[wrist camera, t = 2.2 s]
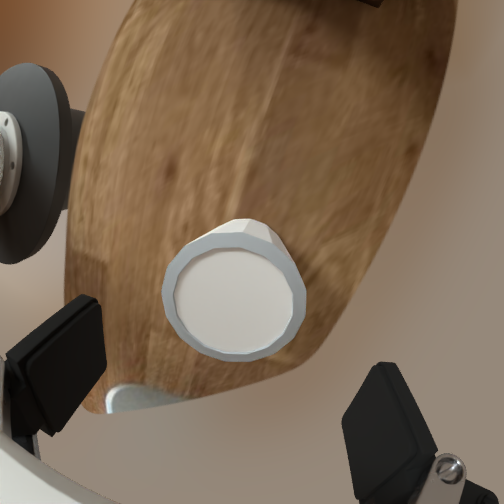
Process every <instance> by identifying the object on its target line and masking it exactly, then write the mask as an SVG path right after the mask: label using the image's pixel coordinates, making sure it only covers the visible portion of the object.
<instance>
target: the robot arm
mask: <svg viewBox="0 0 504 504" xmlns="http://www.w3.org/2000/svg"><path fill="white" fill-rule="evenodd" d="M22 158H23V146H22V136H21V130H20V127H19V123H18V122H17V120H16V118H15V117H14V115H13V114H11V113H9V112H4V111H0V216H1V215H2V214H4V213H5V212H6V211H7V210H8V209H9V208H10V206H11V204H12V203H13V200H14V198H15V195H16V193H17V189H18V186H19V181H20V176H21V170H22ZM6 357H7V360H6V361H4V360H3V358H2V357H1V356H0V504H120V503H117V502H115V501H113V500H111V499H108V498H106V497H104V496H102V495H100V494H98V493H95V492H93V491H92V490H89V489H87V488H86V487H83V486H82V485H80V484H78V483H76V482H75V481H73V480H71V479H69V478H68V477H66V476H64V475H62V474H61V473H59V472H58V471H56V470H54V469H53V468H51V467H50V466H48V465H46V464H45V463H44V462H42V461H41V458H40V452H39V446H38V440H37V432H38V431H39V429H41V430H42V431H43V432H45V433H47V434H48V435H50V436H51V437H53V435H54V434H55V433H56V432H60V431H61V430H62V429H63V428H64V426H65V425H66V423H67V422H68V420H69V419H70V418H71V416H72V415H73V413H74V412H75V411H76V409H77V408H78V407H79V405H80V404H81V402H82V401H83V400H84V398H85V397H86V396H87V394H88V393H89V392H90V390H91V389H92V388H93V386H94V385H95V384H96V382H97V381H98V380H99V378H100V377H101V376H102V374H103V373H104V372H105V370H106V367H107V360H106V352H105V344H104V334H103V323H102V309H101V305H100V304H98V301H97V299H96V298H93V297H90V296H87V295H85V294H81V295H79V296H78V297H76V298H75V299H74V300H72V301H71V302H70V303H68V304H67V305H66V306H64V307H63V308H62V309H60V310H59V311H58V312H56V313H55V314H54V315H53V316H51V317H50V318H49V319H47V320H46V321H45V322H44V323H42V324H41V325H40V326H39V327H37V328H36V329H35V330H33V331H32V332H31V333H30V334H29V335H27V336H26V337H25V338H24V339H22V340H21V341H20V342H19V343H18V344H16V345H15V346H14V347H13V348H12V349H10V350H9V351H8V352H7V353H6ZM342 429H343V433H344V439H345V444H346V449H347V454H348V460H349V465H350V471H351V476H352V483H353V489H354V495H355V498H356V499H357V500H359V504H499V502H498V498H497V497H496V495H495V494H494V493H493V492H491V491H490V490H487V489H485V488H483V487H481V486H479V485H477V484H475V483H473V482H471V481H469V480H467V479H466V467H465V465H464V463H463V462H462V460H461V459H460V458H458V457H457V456H455V455H453V454H449V453H444V454H441V455H439V456H438V457H437V458H436V457H435V453H436V452H437V451H438V448H437V446H436V444H435V442H434V440H433V438H432V435H431V433H430V431H429V429H428V426H427V424H426V422H425V420H424V418H423V416H422V414H421V412H420V409H419V407H418V406H417V403H416V402H415V399H414V397H413V395H412V393H411V392H410V390H409V388H408V386H407V384H406V382H405V380H404V378H403V376H402V374H401V372H400V371H399V368H398V367H397V365H396V364H395V363H392V362H379V363H377V365H374V366H373V367H372V368H371V370H370V372H369V373H368V375H367V377H366V379H365V381H364V382H363V384H362V386H361V387H360V389H359V391H358V393H357V394H356V396H355V398H354V399H353V401H352V402H351V404H350V406H349V407H348V409H347V410H346V412H345V413H344V415H343V418H342Z"/></svg>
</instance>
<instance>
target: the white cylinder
mask: <svg viewBox="0 0 504 504" xmlns="http://www.w3.org/2000/svg"><path fill="white" fill-rule="evenodd" d="M161 292H162V298H163V303H164V309H165V314H166V317H167V318H168V320H169V322H170V323H171V325H172V326H173V328H174V329H175V331H176V332H177V334H178V336H179V337H180V338H181V339H183V340H184V341H185V342H186V343H188V344H189V345H190V346H192V347H193V348H194V349H196V350H197V351H198V352H200V353H202V354H205V355H207V356H210V357H213V358H216V359H219V360H222V361H230V362H251V361H254V360H257V359H261V358H264V357H267V356H270V355H273V354H275V353H276V352H277V351H279V350H280V349H281V348H282V347H284V346H285V345H286V344H287V343H289V342H290V341H291V340H292V339H293V338H294V337H295V335H296V333H297V331H298V329H299V327H300V326H301V324H302V322H303V320H304V318H305V314H306V288H305V285H304V283H303V281H302V278H301V276H300V274H299V271H298V269H297V267H296V265H295V263H294V261H293V259H292V258H291V256H290V254H289V253H288V251H287V249H286V248H285V246H284V244H283V243H282V241H281V239H280V238H279V236H278V235H277V234H276V233H275V232H274V231H273V230H272V229H271V228H270V227H268V226H267V225H266V224H264V223H261V222H258V221H256V220H253V219H234V220H232V221H229V222H227V223H225V224H223V225H221V226H219V227H217V228H215V229H213V230H212V231H210V232H208V233H206V234H205V235H203V236H201V237H199V238H197V239H196V240H194V241H192V242H190V243H189V244H187V245H185V246H184V247H183V248H182V250H181V251H180V252H179V253H178V254H177V256H176V257H175V258H174V259H173V260H172V262H171V263H170V264H169V265H168V267H167V270H166V274H165V278H164V282H163V286H162V291H161Z"/></svg>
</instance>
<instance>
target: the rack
mask: <svg viewBox="0 0 504 504" xmlns="http://www.w3.org/2000/svg"><path fill="white" fill-rule="evenodd" d="M357 1H360V2H363V3H366V4H369V5H371V6H374V7H377V8H379V6H380V5H381V3H382V2H383V1H384V0H357Z"/></svg>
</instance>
